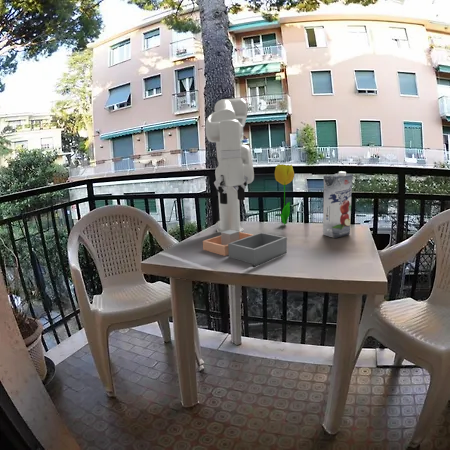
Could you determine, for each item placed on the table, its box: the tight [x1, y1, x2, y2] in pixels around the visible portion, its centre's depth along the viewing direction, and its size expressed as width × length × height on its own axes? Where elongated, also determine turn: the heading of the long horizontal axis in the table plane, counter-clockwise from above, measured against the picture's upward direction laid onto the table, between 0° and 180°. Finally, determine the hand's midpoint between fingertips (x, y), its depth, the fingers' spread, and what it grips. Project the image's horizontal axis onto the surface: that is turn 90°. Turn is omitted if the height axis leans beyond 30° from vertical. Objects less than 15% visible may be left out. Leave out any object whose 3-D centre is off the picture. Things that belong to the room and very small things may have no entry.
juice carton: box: [322, 170, 354, 239], centre depth 133 cm, size 9×10×27 cm
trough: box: [202, 231, 254, 257], centre depth 125 cm, size 12×18×4 cm, turn 134°
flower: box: [274, 163, 295, 225], centre depth 154 cm, size 9×8×30 cm
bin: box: [228, 232, 288, 268], centre depth 115 cm, size 12×18×6 cm, turn 134°
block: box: [220, 230, 239, 246], centre depth 124 cm, size 5×5×6 cm
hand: (232, 201), depth 120 cm, fingers open, 9 cm apart
